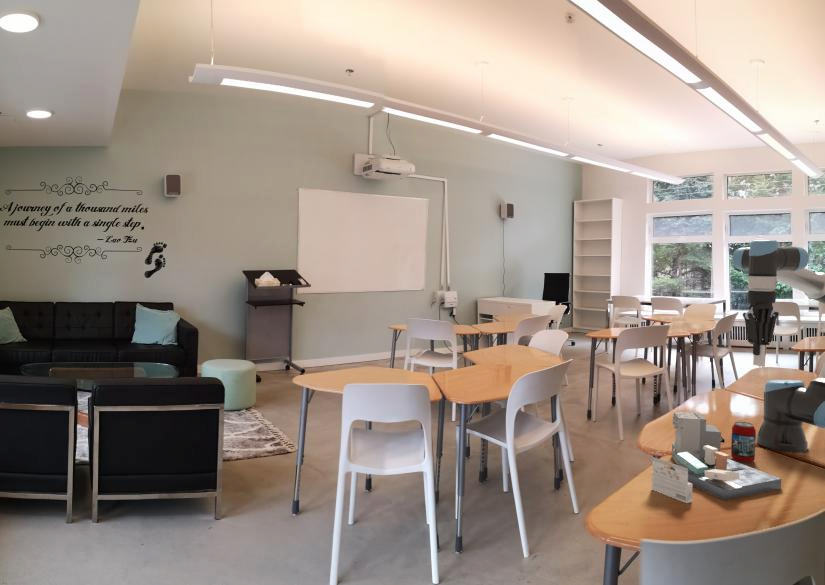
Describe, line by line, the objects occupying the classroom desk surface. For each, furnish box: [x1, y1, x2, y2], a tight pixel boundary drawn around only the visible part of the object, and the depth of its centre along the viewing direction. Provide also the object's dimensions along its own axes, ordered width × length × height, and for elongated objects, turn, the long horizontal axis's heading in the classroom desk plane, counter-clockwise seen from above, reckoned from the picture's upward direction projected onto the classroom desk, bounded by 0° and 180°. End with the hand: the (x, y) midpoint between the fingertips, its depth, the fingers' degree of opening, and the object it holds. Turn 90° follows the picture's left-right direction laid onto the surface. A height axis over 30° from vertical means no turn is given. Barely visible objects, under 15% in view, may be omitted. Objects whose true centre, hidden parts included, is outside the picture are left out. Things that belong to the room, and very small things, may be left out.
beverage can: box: [730, 421, 757, 464], centre depth 191 cm, size 7×7×12 cm
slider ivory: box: [703, 445, 718, 465], centre depth 178 cm, size 2×4×5 cm, turn 21°
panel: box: [669, 458, 782, 501], centre depth 172 cm, size 22×20×3 cm
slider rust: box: [714, 451, 731, 471], centre depth 172 cm, size 2×4×5 cm, turn 21°
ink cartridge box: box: [651, 456, 693, 504], centre depth 162 cm, size 2×11×10 cm, turn 32°
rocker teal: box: [676, 452, 708, 474], centre depth 174 cm, size 5×8×2 cm, turn 21°
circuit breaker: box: [671, 411, 726, 465], centre depth 189 cm, size 8×14×15 cm, turn 78°
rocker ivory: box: [704, 469, 740, 481], centre depth 164 cm, size 5×8×2 cm, turn 21°
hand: (758, 365), depth 183 cm, fingers closed
